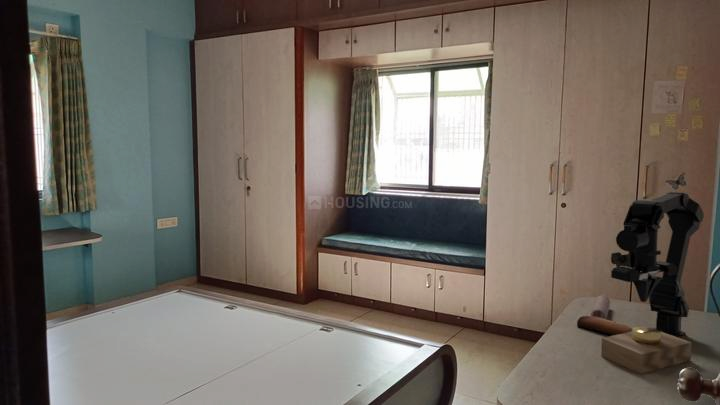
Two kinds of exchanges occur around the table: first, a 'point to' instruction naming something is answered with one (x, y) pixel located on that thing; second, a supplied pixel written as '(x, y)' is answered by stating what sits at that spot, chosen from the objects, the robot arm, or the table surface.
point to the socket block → (646, 352)
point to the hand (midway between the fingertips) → (643, 301)
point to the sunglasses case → (603, 325)
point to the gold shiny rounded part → (646, 335)
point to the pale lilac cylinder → (601, 307)
